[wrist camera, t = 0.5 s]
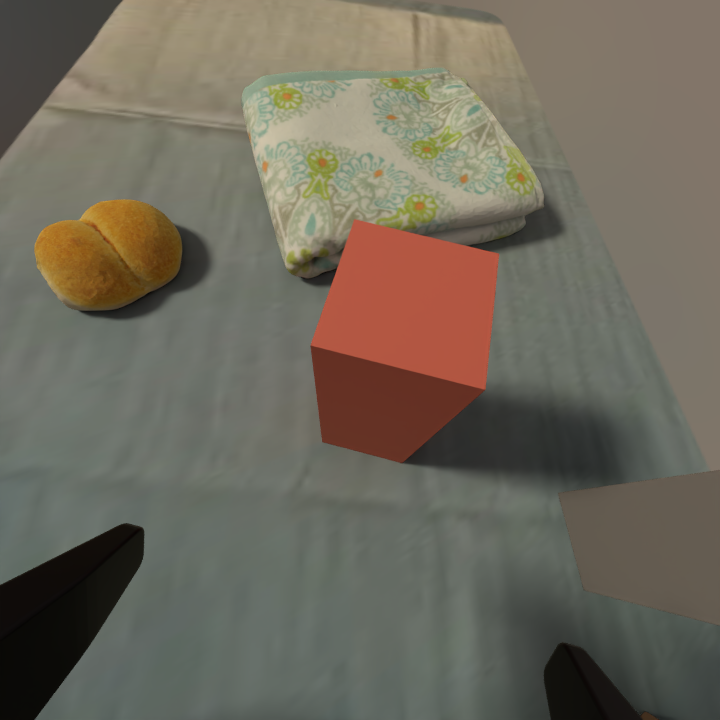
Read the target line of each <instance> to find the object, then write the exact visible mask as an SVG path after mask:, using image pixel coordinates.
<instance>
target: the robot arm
mask: <svg viewBox="0 0 720 720" xmlns="http://www.w3.org/2000/svg"><path fill="white" fill-rule="evenodd" d="M143 555H144V529H143V528H142V527H140V526H136V525H132V524H129V523H124V524H121V525H119V526H117V527H115V528H113V529H111V530H109V531H107V532H105V533H103V534H101V535H99V536H97V537H95V538H93V539H91V540H89V541H87V542H85V543H83V544H81V545H79V546H77V547H75V548H73V549H71V550H69V551H67V552H65V553H63V554H61V555H59V556H57V557H55V558H53V559H51V560H49V561H47V562H45V563H43V564H41V565H39V566H37V567H35V568H33V569H31V570H29V571H27V572H25V573H23V574H21V575H19V576H17V577H15V578H13V579H11V580H9V581H7V582H5V583H3V584H1V585H0V720H35V718H36V717H37V716H38V714H39V713H40V712H41V710H42V709H43V708H44V706H45V705H46V704H47V702H48V701H49V700H50V698H51V697H52V696H53V694H54V693H55V692H56V690H57V689H58V688H59V686H60V685H61V684H62V682H63V681H64V680H65V678H66V677H67V676H68V674H69V673H70V672H71V670H72V669H73V668H74V666H75V665H76V664H77V662H78V661H79V660H80V658H81V657H82V655H83V654H84V653H85V651H86V650H87V649H88V647H89V646H90V644H91V643H92V641H93V640H94V638H95V637H96V635H97V634H98V632H99V630H100V629H101V627H102V626H103V624H104V622H105V621H106V619H107V618H108V616H109V615H110V613H111V611H112V610H113V608H114V607H115V605H116V603H117V602H118V600H119V599H120V597H121V595H122V594H123V592H124V591H125V589H126V588H127V586H128V584H129V583H130V581H131V580H132V578H133V576H134V575H135V573H136V572H137V570H138V568H139V567H140V565H141V562H142V560H143ZM544 683H545V689H546V694H547V700H548V706H549V712H550V717H551V720H643V719H642V718H641V717H640V716H639V714H638V713H637V712H636V711H635V710H634V708H633V707H632V706H631V705H630V704H629V702H628V701H627V700H626V699H625V698H624V696H623V695H622V694H621V693H620V692H619V690H618V689H617V688H616V687H615V686H614V684H613V683H612V682H611V681H610V680H609V678H608V677H607V676H606V675H605V674H604V672H603V671H602V670H601V669H600V668H599V667H598V665H597V664H596V663H595V662H594V661H593V659H592V658H591V657H590V656H589V655H588V653H587V652H586V651H585V650H584V649H582V648H581V647H578V646H575V645H572V644H568V643H564V642H562V643H560V644H558V645H557V647H556V649H555V650H554V652H553V654H552V656H551V657H550V659H549V661H548V662H547V664H546V666H545V670H544Z"/></svg>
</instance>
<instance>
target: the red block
mask: <svg viewBox="0 0 720 720" xmlns="http://www.w3.org/2000/svg"><path fill="white" fill-rule="evenodd" d="M498 259H499V254H498V253H494V252H490V251H485V250H481V249H477V248H473V247H469V246H464V245H460V244H456V243H452V242H448V241H443V240H439V239H435V238H431V237H427V236H423V235H418V234H414V233H410V232H406V231H402V230H397V229H393V228H389V227H385V226H381V225H377V224H372V223H368V222H364V221H360V220H356V219H354V222H353V225H352V227H351V230H350V233H349V236H348V239H347V242H346V245H345V248H344V250H343V253H342V256H341V259H340V262H339V265H338V268H337V271H336V274H335V276H334V279H333V282H332V285H331V288H330V291H329V294H328V297H327V300H326V302H325V305H324V308H323V311H322V314H321V317H320V320H319V323H318V326H317V328H316V331H315V334H314V337H313V340H312V343H311V353H312V361H313V369H314V377H315V386H316V394H317V402H318V410H319V419H320V427H321V435H322V442H324V443H328V444H332V445H336V446H340V447H343V448H347V449H351V450H355V451H358V452H362V453H366V454H370V455H374V456H377V457H381V458H385V459H389V460H392V461H396V462H400V463H403V462H404V461H405V460H406V459H407V458H408V457H409V456H411V455H412V454H413V453H414V452H415V451H416V450H417V449H419V448H420V447H421V446H422V445H423V444H424V443H425V442H427V441H428V440H429V439H430V438H431V437H432V436H433V435H434V434H436V433H437V432H438V431H439V430H440V429H441V428H442V427H444V426H445V425H446V424H447V423H448V422H449V421H450V420H452V419H453V418H454V417H455V416H456V415H457V414H458V413H460V412H461V411H462V410H463V409H464V408H465V407H466V406H467V405H469V404H470V403H471V402H472V401H473V400H474V399H475V398H477V397H478V396H479V395H480V394H481V393H482V392H483V391H485V388H486V378H487V368H488V358H489V348H490V338H491V328H492V318H493V308H494V299H495V289H496V279H497V269H498Z"/></svg>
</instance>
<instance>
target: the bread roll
mask: <svg viewBox="0 0 720 720" xmlns="http://www.w3.org/2000/svg"><path fill="white" fill-rule="evenodd" d="M34 252H35V256H36V264H37V268H38V269H39V270H40V271H41V274H42V275H43V277H44V278H45V279H46V281H47V283H48V284H49V286H50V288H51V289H52V290H53V291H54V293H55V294H56V296H57V297H58V298H59V299H60V300H61V301H62V302H63V303H64V304H65V305H66V306H67V307H69V308H71V309H74V310H82V311H93V310H94V311H97V310H114V309H118V308H121V307H123V306H125V305H128V304H130V303H132V302H134V301H136V300H137V299H139V298H141V297H143V296H145V294H147V293H148V292H150V291H154V290H157V289H159V288H160V287H162V286H164V285H165V284H167V283H168V282H170V281H171V280H172V279H173V278H174V277H175V276H176V275H177V273H178V272H179V269H180V264H181V258H182V241H181V237H180V234H179V232H178V230H177V228H176V227H175V226H174V224H173V223H172V222H171V221H170V220H169V219H168V218H167V217H166V216H165V215H164V214H163V213H162V212H161V211H159V210H158V209H156V208H154V207H153V206H151V205H149V204H146V203H143V202H140V201H136V200H111V201H104V202H99V203H97V204H96V205H94V206H92V207H90V208H89V209H88V210H87V211H86V212H85V213H84V214H83V216H82V218H81V219H80V220H78V221H77V220H66V221H60V222H57V223H54V224H52V225H49V226H47V227H46V228H44V229H43V230H42V232H41V233H40V235H39V236H38V239H37V241H36V244H35V248H34Z"/></svg>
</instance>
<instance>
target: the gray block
mask: <svg viewBox="0 0 720 720" xmlns="http://www.w3.org/2000/svg"><path fill="white" fill-rule="evenodd" d="M558 495H559V499H560V502H561V506H562V510H563V514H564V517H565V521H566V525H567V529H568V532H569V536H570V540H571V544H572V547H573V551H574V555H575V559H576V562H577V566H578V570H579V573H580V577H581V581H582V585H583V588H584V590H585V591H589V592H592V593H596V594H600V595H604V596H608V597H612V598H615V599H619V600H623V601H627V602H631V603H635V604H638V605H642V606H646V607H650V608H654V609H658V610H661V611H665V612H669V613H673V614H677V615H681V616H684V617H688V618H692V619H696V620H700V621H704V622H708V623H711V624H715V625H719V626H720V470H716V471H709V472H702V473H695V474H687V475H680V476H673V477H666V478H659V479H652V480H645V481H638V482H631V483H624V484H617V485H610V486H603V487H596V488H589V489H581V490H574V491H567V492H560V493H558Z"/></svg>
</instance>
